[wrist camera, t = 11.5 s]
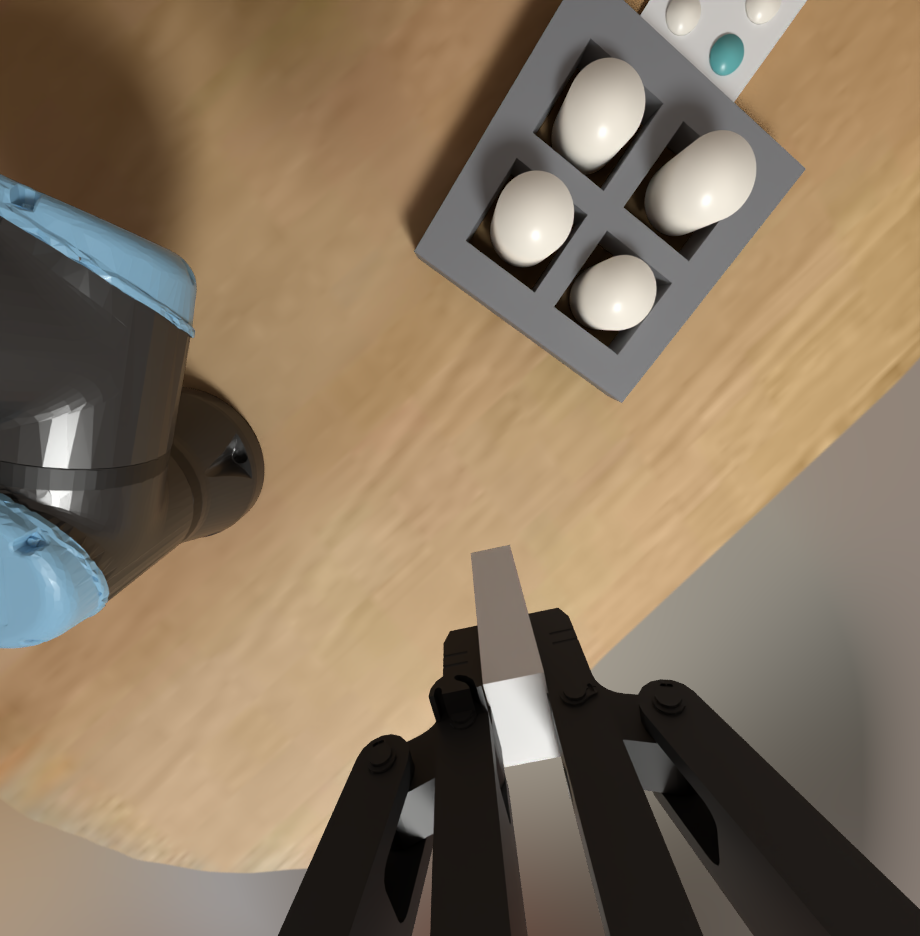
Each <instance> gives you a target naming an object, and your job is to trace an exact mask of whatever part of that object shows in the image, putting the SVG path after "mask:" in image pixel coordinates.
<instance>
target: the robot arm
mask: <svg viewBox="0 0 920 936" xmlns="http://www.w3.org/2000/svg"><path fill="white" fill-rule="evenodd" d="M196 290H197V285H196V279H195V276H194V273H193V271H192V269H191V268H190V267H189V265H188V264H187V263H186V262H185V261H184V259H182V258H181V257H180V256H179V255H177V254H176V253H174V252H172V251H170V250H168V249H166V248H164V247H162V246H160V245H158V244H156V243H153V242H151V241H149V240H147V239H145V238H143V237H140V236H138V235H136V234H134V233H132V232H129V231H127V230H125V229H123V228H121V227H118V226H116V225H114V224H112V223H110V222H107V221H105V220H103V219H101V218H98V217H96V216H94V215H91V214H89V213H87V212H85V211H83V210H80V209H78V208H76V207H74V206H71V205H69V204H67V203H64V202H62V201H60V200H57V199H55V198H53V197H51V196H48V195H46V194H43V193H41V192H38V191H36V190H34V189H32V188H30V187H28V186H25V185H23V184H21V183H19V182H16V181H14V180H12V179H9V178H7V177H5V176H3V175H1V174H0V648H21V647H28V646H34V645H38V644H41V643H43V642H46V641H49V640H51V639H53V638H56V637H58V636H60V635H62V634H63V633H65V632H66V631H68V630H69V629H71V628H72V627H74V626H75V625H77V624H78V623H80V622H81V621H83V620H85V619H86V618H88V617H91V616H93V615H95V614H97V613H98V612H99V611H100V610H101V609H103V607H104V606H106V605H105V603H107V602H108V601H109V600H110V599H111V598H113V597H114V596H115V595H116V594H118V593H119V592H120V591H121V590H123V589H124V588H125V587H127V586H128V585H129V584H130V583H132V582H133V581H134V580H135V579H137V578H138V577H139V576H140V575H142V574H143V573H144V572H145V571H147V570H148V569H149V568H150V567H152V566H153V565H154V564H155V563H157V562H158V561H159V560H160V559H162V558H163V557H164V556H165V555H167V554H168V553H169V552H171V551H172V550H173V549H174V548H175V547H177V546H178V545H179V544H180V543H183V542H186V541H190V540H194V539H197V538H201V537H207V536H211V535H214V534H217V533H219V532H221V531H223V530H225V529H227V528H229V527H230V526H232V525H233V524H235V523H236V522H237V521H238V520H239V519H240V518H242V517H243V516H244V515H245V514H246V513H247V512H248V511H249V510H250V509H251V508H252V506H253V505H254V504H255V502H256V501H257V499H258V497H259V495H260V492H261V489H262V486H263V481H264V460H263V455H262V451H261V448H260V445H259V443H258V440H257V438H256V436H255V434H254V433H253V431H252V429H251V428H250V426H249V425H248V424H247V422H246V421H245V420H244V419H243V418H242V417H241V416H240V415H239V414H238V413H237V412H236V411H235V410H234V409H233V408H232V407H230V406H229V405H228V404H226V403H225V402H223V401H222V400H220V399H218V398H217V397H215V396H213V395H211V394H208V393H206V392H203V391H200V390H196V389H192V388H186V387H182V384H183V378H184V372H185V366H186V360H187V354H188V348H189V342H190V337H192V338H194V336H195V330H194V328H193V327H192V324H193V316H194V307H195V299H196ZM471 560H472V571H473V582H474V593H475V604H476V614H477V625H478V626H473V627H468V628H463V629H458V630H454V631H450V632H449V634H448V636H447V638H446V640H445V642H444V654H443V656H444V658H443V667H444V668H443V677H442V678H440V679H439V680H437V681H436V682H435V684H434V685H433V686H432V688H431V690H430V693H429V700H430V703H431V706H432V709H433V713H434V716H435V719H436V723H435V724H434V725H433V726H432V727H431V728H430V729H429V730H428V731H426V732H425V733H423V734H421V735H420V736H418V737H416V738H414V739H412V740H410V741H408V742H406V741H405V740H404V739H403V738H402V737H401V736H397V735H393V734H390V735H384V736H381V737H379V738H377V739H375V740H372V741H371V742H370V743H369V744H368V745H367V746H365V747H364V748H363V750H362V751H361V753H360V754H359V756H358V757H357V759H356V762H355V764H354V766H353V768H352V771H351V773H350V775H349V777H348V780H347V782H346V784H345V786H344V789H343V791H342V793H341V795H340V798H339V800H338V802H337V804H336V806H335V809H334V811H333V813H332V815H331V818H330V820H329V822H328V824H327V827H326V829H325V831H324V833H323V836H322V838H321V840H320V842H319V845H318V847H317V849H316V851H315V854H314V856H313V858H312V860H311V863H310V865H309V867H308V869H307V872H306V874H305V876H304V878H303V881H302V883H301V885H300V887H299V890H298V892H297V894H296V896H295V899H294V901H293V903H292V905H291V907H290V910H289V912H288V914H287V916H286V919H285V921H284V923H283V925H282V928H281V930H280V932H279V934H278V936H412V932H413V928H414V924H415V920H416V915H417V911H418V907H419V903H420V898H421V894H422V890H423V886H424V882H425V877H426V873H427V869H428V865H429V861H430V856H431V852H432V848H433V862H432V896H431V932H430V936H528V935H527V927H526V919H525V912H524V905H523V897H522V888H521V881H520V873H519V865H518V857H517V850H516V842H515V835H514V827H513V819H512V812H511V803H510V796H509V788H508V784H507V781H506V777H505V773H504V766H505V767H508V766H513V765H518V764H524V763H529V762H534V761H539V760H544V759H549V758H555V757H559V756H561V759H562V763H563V768H564V772H565V776H566V782H567V786H568V791H569V796H570V799H571V801H572V805H573V809H574V813H575V816H576V821H577V825H578V829H579V833H580V836H581V841H582V844H583V849H584V853H585V857H586V860H587V865H588V869H589V873H590V876H591V881H592V885H593V888H594V893H595V896H596V901H597V904H598V908H599V912H600V916H601V920H602V924H603V928H604V932H605V936H703V934H702V932H701V929H700V927H699V924H698V922H697V919H696V917H695V914H694V912H693V910H692V907H691V905H690V902H689V900H688V897H687V895H686V893H685V890H684V888H683V885H682V883H681V880H680V878H679V875H678V873H677V871H676V868H675V866H674V863H673V861H672V858H671V856H670V853H669V851H668V849H667V846H666V844H665V842H664V839H663V836H662V834H661V832H660V829H659V827H658V824H657V822H656V819H655V817H654V815H653V812H652V810H651V807H650V805H649V802H648V800H647V798H646V795H645V793H644V790H648V791H653V793H654V795H655V797H656V798H657V800H658V801H659V803H660V804H661V805H662V807H663V808H664V810H665V811H666V812H667V814H668V815H669V817H670V818H671V820H672V821H673V822H674V824H675V825H676V827H677V828H678V829H679V831H680V832H681V834H682V835H683V836H684V838H685V839H686V841H687V842H688V844H689V845H690V846H691V847H692V849H693V851H694V852H695V853H696V855H697V856H698V858H699V859H700V860H701V862H702V863H703V865H704V866H705V868H706V869H707V870H708V872H709V873H710V874H711V876H712V877H713V879H714V880H715V881H716V883H717V884H718V886H719V887H720V889H721V890H722V891H723V893H724V894H725V896H726V897H727V899H728V900H729V901H730V903H731V904H732V906H733V907H734V909H735V910H736V911H737V913H738V914H739V916H740V917H741V918H742V920H743V921H744V923H745V924H746V925H747V927H748V928H749V930H750V931H751V933H752V934H753V935H754V936H920V909H919V908H918V907H917V906H916V905H915V904H914V903H913V902H911V900H909V899H908V898H907V897H906V896H905V895H904V894H903V893H902V892H901V891H900V890H899V889H898V888H897V887H896V886H895V885H894V884H893V883H892V882H891V881H890V880H889V879H888V878H887V877H886V876H884V875H883V873H882V872H880V871H879V870H878V869H877V868H876V867H875V866H874V865H873V864H872V863H871V862H870V861H869V860H868V859H867V858H866V857H865V856H864V855H863V854H862V853H861V852H860V851H859V850H858V849H856V848H855V847H854V845H852V844H851V843H850V842H849V841H848V840H847V839H846V838H845V837H844V836H843V835H842V834H841V833H840V832H839V831H838V830H837V829H836V828H835V827H834V826H833V825H832V824H831V823H830V822H829V821H827V820H826V818H824V817H823V816H822V815H821V814H820V813H819V812H818V811H817V810H816V809H815V808H814V807H813V806H812V805H811V804H810V803H809V802H808V801H807V800H806V799H805V798H804V797H803V796H802V795H800V793H799V792H798V791H796V790H795V789H794V788H793V787H792V786H791V785H790V784H789V783H788V782H787V781H786V780H785V779H784V778H783V777H782V776H781V775H780V774H779V773H778V772H777V771H776V770H775V769H774V768H773V767H772V766H770V764H768V763H767V762H766V761H765V760H764V759H763V758H762V757H761V756H760V755H759V754H758V753H757V752H756V751H755V750H754V749H753V748H752V747H751V746H750V745H749V744H748V743H747V742H746V741H744V739H742V737H740V736H739V735H738V734H737V733H736V732H735V731H734V730H733V729H732V728H731V727H730V726H729V725H728V724H727V723H726V722H725V721H724V720H723V719H722V718H721V717H720V716H719V715H718V714H717V713H716V712H714V710H712V709H711V708H710V707H709V706H708V705H707V704H706V703H705V702H704V701H703V700H702V699H701V698H700V697H699V696H698V695H697V694H696V693H695V692H694V691H693V690H691V689H690V688H688V687H687V686H686V685H684V684H681V683H679V682H676V681H673V680H656V681H652V682H649V683H648V684H646V685H645V686H643V687H642V689H641V691H640V692H639V694H638V695H635V694H623V693H617V692H613V691H611V690H608V689H606V688H605V687H603V686H601V685H600V684H599V683H598V682H597V681H596V680H595V679H594V677H593V675H592V673H591V670H590V668H589V665H588V663H587V661H586V658H585V656H584V653H583V651H582V648H581V646H580V643H579V641H578V639H577V636H576V633H575V631H574V629H573V626H572V623H571V621H570V618H569V616H568V615H566V614H565V613H564V612H563V611H562V610H560V609H559V608H554V609H550V610H545V611H540V612H535V613H530V614H528V611H527V607H526V603H525V600H524V596H523V592H522V589H521V585H520V581H519V577H518V574H517V570H516V566H515V563H514V559H513V555H512V551H511V548H510V545H507V546H502V547H497V548H493V549H488V550H483V551H479V552H474V553H471ZM503 762H504V764H503Z"/></svg>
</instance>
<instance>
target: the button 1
mask: <svg viewBox="0 0 920 936" xmlns="http://www.w3.org/2000/svg"><path fill="white" fill-rule="evenodd" d="M573 220H574V205H573V200H572V197H571V194H570V192H569V190H568V188H567V187H566V185H565V184H564V183H563V182H562V181H561V180H560V179H559V178H558V177H556V176H555V175H553V174H551V173H548V172H545V171H528V172H525V173H522V174H520V175H518V176H517V177H515V178H514V179H512V180H511V181H510V182H509V183H508V184H507V185H506V187H505V188H504V190H503V191H502V193H501V195H500V197H499V199H498V202H497V205H496V209H495V212H494V215H493V218H492V222H491V227H490V235H491V241H492V245H493V247H494V249H495V251H496V253H497V254H498V256H499V257H500V258H501V259H502V260H503V261H505V262H506V263H508V264H510V265H512V266H515V267H530V266H534V265H536V264H538V263H540V262H541V261H543V260H544V259H545V258H547V257H548V256H549V255H551V254H552V253H553V252H554V251H556V250H557V249H558V248H559V247H560V246H561V245H562V244H563V243H564V242H565V240H566V239H567V237H568V235H569V233H570V231H571V228H572V225H573Z"/></svg>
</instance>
